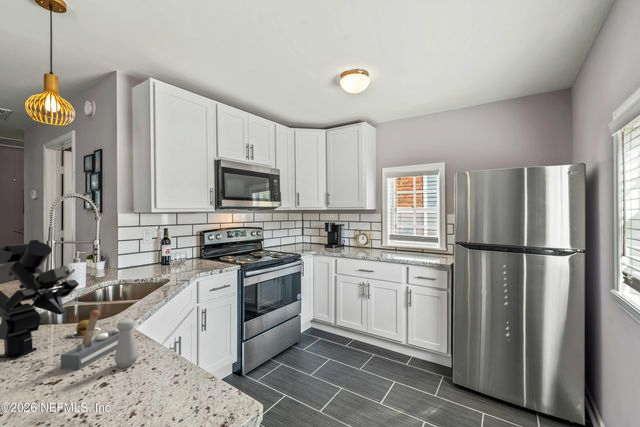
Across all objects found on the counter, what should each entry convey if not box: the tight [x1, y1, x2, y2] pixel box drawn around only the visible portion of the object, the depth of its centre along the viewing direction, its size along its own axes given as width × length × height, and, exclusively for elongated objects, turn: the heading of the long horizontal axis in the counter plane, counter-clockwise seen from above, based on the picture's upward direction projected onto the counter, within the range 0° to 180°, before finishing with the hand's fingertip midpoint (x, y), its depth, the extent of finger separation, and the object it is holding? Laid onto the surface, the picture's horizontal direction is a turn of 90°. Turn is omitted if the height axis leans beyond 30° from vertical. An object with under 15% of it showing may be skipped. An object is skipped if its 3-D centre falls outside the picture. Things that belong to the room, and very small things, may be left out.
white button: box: [95, 332, 108, 340], centre depth 98 cm, size 3×3×1 cm
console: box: [60, 330, 120, 371], centre depth 96 cm, size 6×18×6 cm, turn 172°
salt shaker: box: [113, 318, 139, 369], centre depth 89 cm, size 6×6×13 cm
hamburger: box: [70, 319, 101, 338], centre depth 114 cm, size 12×12×6 cm
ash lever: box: [81, 309, 101, 347], centre depth 92 cm, size 2×2×11 cm
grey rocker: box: [106, 327, 120, 333], centre depth 102 cm, size 3×2×1 cm, turn 82°
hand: (62, 313), depth 94 cm, fingers closed
